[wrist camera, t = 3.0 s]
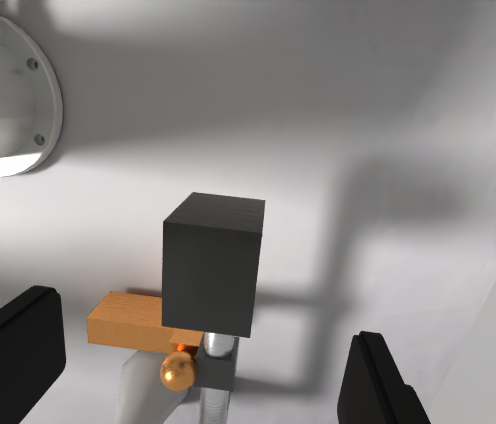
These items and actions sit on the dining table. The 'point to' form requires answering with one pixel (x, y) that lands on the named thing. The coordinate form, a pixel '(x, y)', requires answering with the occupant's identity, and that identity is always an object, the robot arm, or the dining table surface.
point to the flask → (145, 391)
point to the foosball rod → (194, 299)
